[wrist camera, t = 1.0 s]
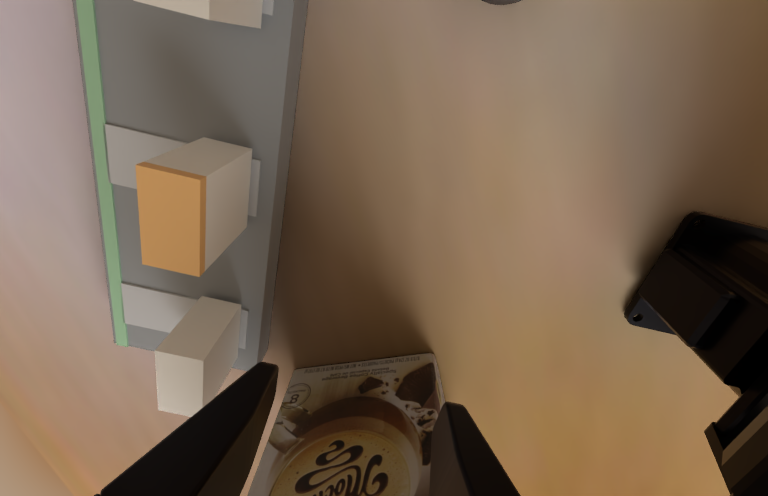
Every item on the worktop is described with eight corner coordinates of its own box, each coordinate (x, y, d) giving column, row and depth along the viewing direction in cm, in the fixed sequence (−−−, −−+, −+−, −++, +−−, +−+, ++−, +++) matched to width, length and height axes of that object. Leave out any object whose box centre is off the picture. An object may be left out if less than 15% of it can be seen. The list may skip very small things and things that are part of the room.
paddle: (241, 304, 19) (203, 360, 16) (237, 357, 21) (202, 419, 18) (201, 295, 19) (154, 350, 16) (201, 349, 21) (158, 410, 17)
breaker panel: (321, -112, 14) (307, -137, 12) (267, 349, 24) (255, 374, 22) (95, -173, 13) (44, -210, 12) (136, 320, 23) (113, 343, 21)
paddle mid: (252, 149, 16) (200, 179, 12) (246, 226, 17) (199, 276, 14) (203, 137, 16) (135, 164, 12) (202, 216, 17) (142, 264, 13)
